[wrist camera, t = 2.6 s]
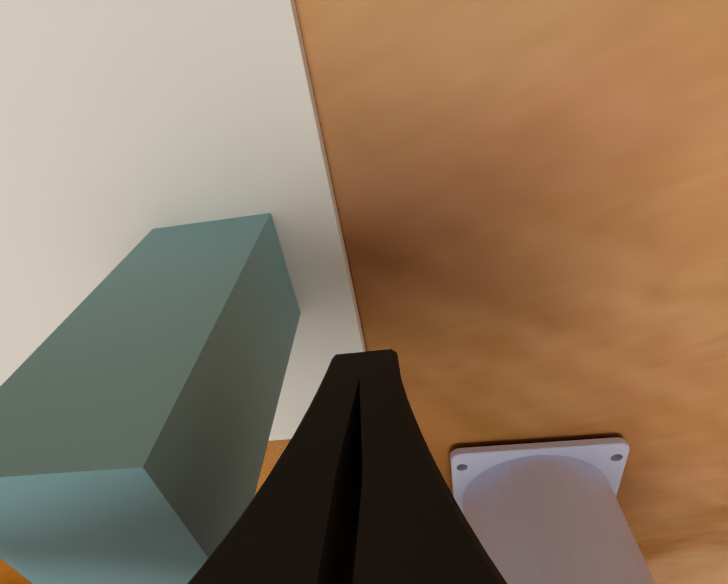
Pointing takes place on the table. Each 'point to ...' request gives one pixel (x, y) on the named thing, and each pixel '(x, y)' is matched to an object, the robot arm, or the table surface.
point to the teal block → (148, 410)
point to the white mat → (162, 160)
